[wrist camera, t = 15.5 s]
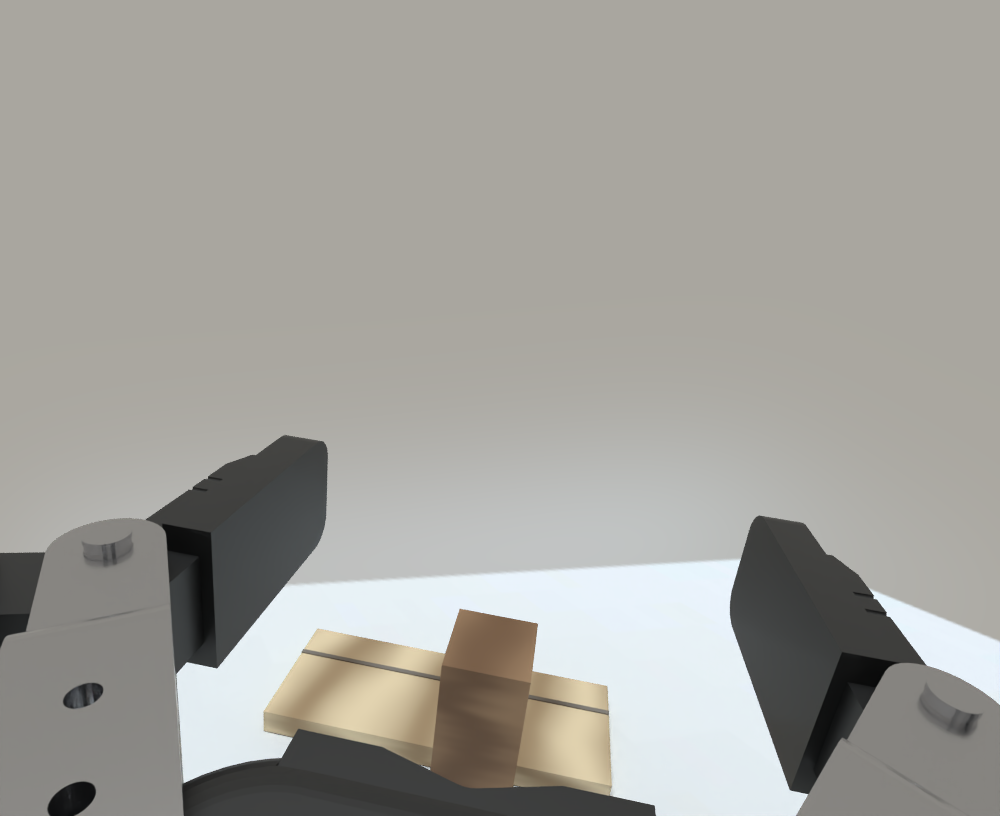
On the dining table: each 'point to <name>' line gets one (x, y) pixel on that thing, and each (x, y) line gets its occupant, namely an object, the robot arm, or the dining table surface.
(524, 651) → the block
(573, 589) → the dining table surface
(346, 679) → the board
